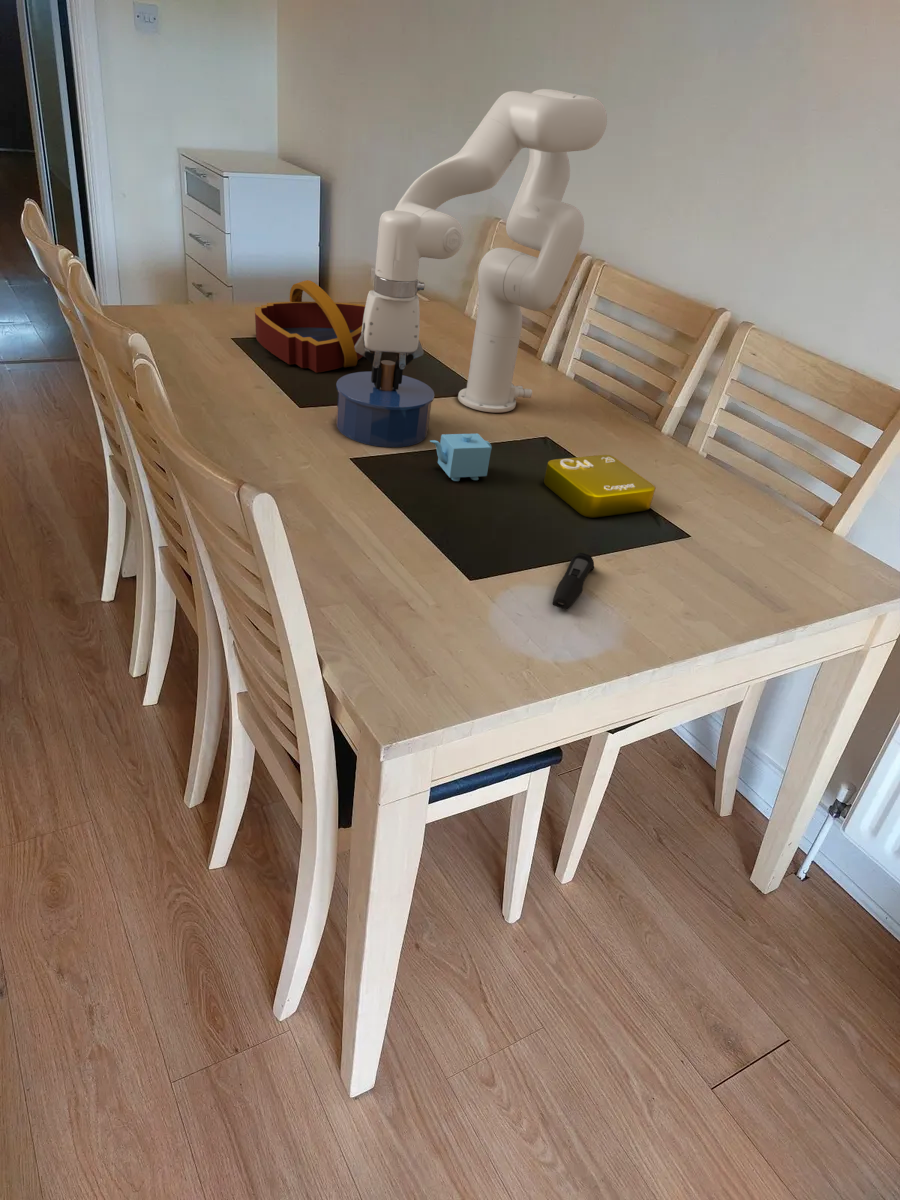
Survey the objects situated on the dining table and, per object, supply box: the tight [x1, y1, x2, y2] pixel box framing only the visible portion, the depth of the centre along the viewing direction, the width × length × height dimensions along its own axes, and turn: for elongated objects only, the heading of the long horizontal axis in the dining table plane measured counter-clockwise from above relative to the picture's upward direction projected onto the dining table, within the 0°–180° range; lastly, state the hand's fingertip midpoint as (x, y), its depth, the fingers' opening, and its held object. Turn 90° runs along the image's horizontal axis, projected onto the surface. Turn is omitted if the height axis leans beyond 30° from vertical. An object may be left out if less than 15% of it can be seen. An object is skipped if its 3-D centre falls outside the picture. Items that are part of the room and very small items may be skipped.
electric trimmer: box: [551, 552, 595, 611], centre depth 127 cm, size 4×16×3 cm, turn 159°
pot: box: [335, 391, 432, 448], centre depth 167 cm, size 18×18×8 cm
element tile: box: [543, 454, 656, 519], centre depth 154 cm, size 15×15×5 cm
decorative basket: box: [254, 279, 367, 374], centre depth 200 cm, size 34×29×15 cm
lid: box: [335, 359, 435, 410], centre depth 163 cm, size 19×19×6 cm
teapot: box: [429, 433, 493, 482], centre depth 154 cm, size 12×6×8 cm, turn 111°
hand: (385, 385), depth 164 cm, fingers closed on lid, 2 cm apart
